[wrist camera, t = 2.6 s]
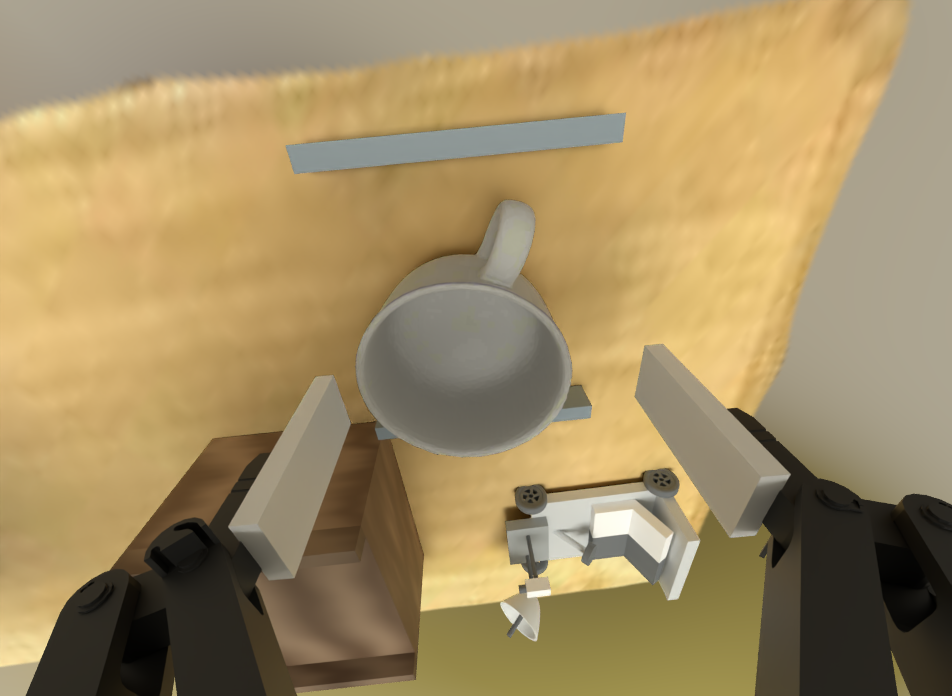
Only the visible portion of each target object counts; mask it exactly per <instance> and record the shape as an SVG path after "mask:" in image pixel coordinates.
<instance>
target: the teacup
mask: <svg viewBox="0 0 952 696" xmlns="http://www.w3.org/2000/svg"><path fill="white" fill-rule="evenodd" d="M534 232H535V215H534V211H533V210H532V208H531V207H530V206H529V205H527V204H525V203H523V202H520V201H515V200H504V201H502V202H501V203H500V204H499V205H498V206H497V208H496V210H495V212H494V214H493V216H492V219H491V221H490V223H489V226H488V229H487V231H486V234H485V236H484V239H483V242H482V244H481V246H480V248H479V250H478V252H477V254H475V255H470V254H457V255H450V256H444V257H440V258H437V259H434V260H432V261H429V262H427V263H425V264H423V265H421V266H419V267H418V268H416V269H415V270H413V271H412V272H411V273H409V274H408V275H407V276H406V277H405V278H404V279H403V280H402V281H401V282H400V283H399V284H398V285H397V286H396V287H395V289H394V290H393V292H392V293H391V294H390V296H389V297H388V299H387V300H386V302H385V303H384V305H383V306H382V308H381V309H380V311H379V313H378V314H377V315H376V316H375V317H374V318H373V320H372V321H371V323H370V325H369V326H368V327H367V329H366V331H365V333H364V335H363V337H362V339H361V342H360V345H359V347H358V351H357V355H356V377H357V383H358V387H359V390H360V393H361V395H362V398H363V400H364V402H365V404H366V406H367V407H368V409H369V411H370V412H371V413H372V415H373V416H374V417H375V418H376V419H377V420H378V421H379V422H380V424H381V425H382V426H384V427H385V428H386V429H387V430H388V431H390V432H391V433H393V434H394V435H395V436H397V437H398V438H400V439H402V440H404V441H406V442H407V443H409V444H411V445H413V446H415V447H418V448H421V449H424V450H426V451H428V452H431V453H434V454H437V455H439V454H442V455H448V456H458V457H481V456H486V455H491V454H496V453H500V452H504V451H507V450H509V449H512V448H515V447H517V446H519V445H521V444H523V443H525V442H527V441H529V440H530V439H532V438H533V437H535V436H536V435H538V434H539V433H540V432H541V431H542V430H544V429H545V428H546V427H547V426H548V425H549V424H550V423H551V422H552V421H553V420H554V418H555V417H556V416H557V415H558V413H559V412H560V410H561V409H562V407H563V405H564V402H565V401H566V399H567V394H568V392H569V387H570V385H571V378H572V362H571V358H570V354H569V350H568V346H567V344H566V341H565V339H564V337H563V335H562V333H561V331H560V330H559V328H558V327H557V325H556V324H555V322H554V321H553V319H552V317H551V314H550V312H549V310H548V308H547V306H546V305H545V303H544V301H543V299H542V298H541V296H540V295H539V293H538V292H537V290H536V289H535V288H534V286H533V285H532V284H531V283H530V282H529V281H528V280H527V279H526V278H525V277H524V276H523V275H522V274H520V271H521V270H522V268H523V266H524V263H525V261H526V259H527V256H528V253H529V250H530V248H531V244H532V240H533V236H534Z"/></svg>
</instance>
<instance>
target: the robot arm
mask: <svg viewBox="0 0 952 696" xmlns="http://www.w3.org/2000/svg"><path fill="white" fill-rule="evenodd" d="M635 398H636V399H637V401H638V402H639V404H640V405H641V407H642V408H643V410H644V411H645V413H646V414H647V416H648V417H649V419H650V420H651V422H652V423H653V425H654V426H655V428H656V429H657V431H658V432H659V433H660V435H661V436H662V438H663V439H664V441H665V442H666V444H667V445H668V447H669V448H670V450H671V451H672V453H673V454H674V456H675V457H676V459H677V460H678V462H679V463H680V465H681V466H682V467H683V469H684V470H685V472H686V473H687V475H688V476H689V478H690V479H691V481H692V482H693V484H694V485H695V487H696V488H697V490H698V491H699V493H700V494H701V496H702V497H703V499H704V500H705V501H706V503H707V504H708V506H709V507H710V509H711V510H712V512H713V513H714V515H715V516H716V518H717V519H718V521H719V522H720V524H721V525H722V527H723V528H724V530H725V531H726V533H727V534H728V536H729V537H730V538H732V537H743V536H754V535H756V534H757V532H758V530H759V528H760V527H761V525H762V523H763V524H764V525H765V527H766V528H767V529H768V530H769V532H770V533H771V534H772V535H771V536H770V538H769V540H768V541H767V543H766V545H765V546H764V548H763V549H762V551H761V553H760V555H759V556H760V557H762V558H764V557H765V555H766V554H767V560H766V571H765V583H764V595H763V606H762V607H763V608H762V618H761V629H760V641H759V652H758V664H757V676H756V687H755V696H898V693H897V687H896V681H895V674H894V667H893V661H892V654H891V651H892V653H893V655H894V658H895V660H896V662H897V665H898V667H899V669H900V672H901V674H902V676H903V679H904V681H905V683H906V686H907V688H908V690H909V693H910V695H911V696H952V505H951V504H949V503H946V502H945V501H942V500H940V499H937V498H934V497H930V496H927V495H920V494H911V495H906V496H905V497H904V498H903V499H902V500H901V501H900V502H899V504H898V505H893V504H887V503H881V502H875V501H870V500H864V499H861V498H860V497H859V496H858V495H856V494H855V493H853V492H852V491H850V490H849V489H847V488H846V487H844V486H842V485H839V484H837V483H835V482H832V481H828V480H824V479H818V478H817V477H815V476H814V475H813V474H812V473H811V472H810V471H809V470H808V469H807V468H806V467H805V466H804V465H803V464H802V463H801V462H800V461H799V460H798V459H797V458H796V457H795V456H793V455H792V454H791V453H790V452H789V451H788V450H787V449H786V448H785V447H784V446H783V445H782V444H781V443H780V442H779V441H776V438H775V437H774V436H773V435H772V434H770V433H769V432H768V431H766V429H765V428H764V427H763V426H762V425H761V424H760V423H759V422H758V421H757V420H756V419H755V418H754V417H752V416H750V415H749V414H747V413H745V412H743V411H742V410H740V409H738V408H730V409H726V408H725V407H724V406H723V405H722V404H721V403H720V402H719V401H718V400H717V399H716V398H715V397H714V396H713V394H712V393H711V392H710V391H709V390H708V389H707V388H706V387H705V386H704V385H703V384H702V383H701V382H700V381H699V380H698V379H697V378H696V377H695V376H694V375H693V374H692V373H691V372H690V371H689V370H688V369H687V368H686V367H685V366H684V365H683V364H682V363H681V362H680V361H679V360H678V359H677V358H676V357H675V356H674V355H673V354H672V353H671V352H670V351H669V350H668V349H667V348H666V347H665V346H664V345H663V344H656V345H645V346H644V351H643V357H642V362H641V367H640V372H639V377H638V382H637V387H636V392H635ZM350 425H351V422H350V419H349V417H348V414H347V411H346V408H345V405H344V403H343V400H342V397H341V394H340V392H339V389H338V386H337V383H336V380H335V378H334V375H327V376H317V377H315V378H314V380H313V382H312V383H311V385H310V387H309V388H308V390H307V392H306V394H305V395H304V397H303V399H302V401H301V402H300V404H299V406H298V407H297V409H296V411H295V413H294V414H293V416H292V418H291V419H290V421H289V423H288V425H287V426H286V428H285V430H284V431H283V433H282V435H281V437H280V438H279V440H278V442H277V443H276V445H275V447H274V449H273V450H272V452H270V453H260V454H259V455H258V456H257V457H255V458H254V459H253V460H252V461H251V462H250V463H249V464H248V465H247V466H246V467H245V469H244V471H243V472H242V474H241V475H240V477H239V478H238V482H236V483H235V485H234V486H233V488H232V489H231V493H229V494H228V496H227V497H226V499H225V501H224V502H223V504H222V505H221V507H220V508H219V510H218V512H217V513H216V515H215V516H214V518H213V519H212V521H211V523H210V524H209V526H208V525H207V524H206V523H205V522H204V520H203V519H200V518H196V517H194V518H188V519H184V520H182V521H179V522H177V523H175V524H173V525H171V526H170V527H169V528H167V529H166V530H164V531H163V532H161V533H160V534H159V535H158V536H157V537H156V538H155V539H154V540H153V541H152V543H151V544H150V546H149V547H148V549H147V550H146V552H145V556H144V562H145V563H146V564H147V565H148V566H149V567H151V568H152V570H150V571H147V572H144V573H142V574H139V575H136V576H134V577H132V576H131V575H130V574H129V573H128V572H127V571H125V570H124V569H114V570H110V571H107V572H104V573H102V574H100V575H99V576H97V577H95V578H93V579H91V580H90V581H89V582H87V583H86V584H85V585H83V586H82V587H81V588H80V589H78V590H77V591H76V592H75V594H74V595H73V596H72V597H71V598H70V599H69V600H68V601H67V603H66V604H65V606H64V607H63V609H62V611H61V612H60V615H59V617H58V619H57V622H56V624H55V627H54V629H53V631H52V634H51V636H50V639H49V641H48V643H47V646H46V648H45V651H44V653H43V655H42V658H41V660H40V663H39V665H38V667H37V670H36V672H35V675H34V677H33V680H32V682H31V684H30V687H29V689H28V691H27V694H26V696H172V690H173V684H174V677H175V682H176V690H177V696H297V694H296V691H295V688H294V686H293V683H292V680H291V677H290V674H289V672H288V669H287V666H286V663H285V660H284V658H283V655H282V652H281V649H280V646H279V643H278V641H277V638H276V635H275V632H274V629H273V627H272V624H271V621H270V618H269V615H268V613H267V610H266V607H265V604H264V601H263V598H262V596H261V593H260V590H259V588H258V587H257V586H256V582H257V579H258V577H259V575H260V573H261V570H262V572H263V573H264V574H265V576H266V577H267V578H268V580H279V579H290V578H295V575H296V572H297V570H298V567H299V564H300V562H301V559H302V556H303V553H304V551H305V548H306V545H307V542H308V540H309V537H310V534H311V531H312V529H313V526H314V523H315V520H316V518H317V515H318V512H319V509H320V507H321V504H322V501H323V499H324V496H325V493H326V490H327V488H328V485H329V482H330V479H331V477H332V474H333V471H334V468H335V466H336V463H337V460H338V457H339V455H340V452H341V449H342V446H343V444H344V441H345V438H346V436H347V433H348V430H349V427H350Z"/></svg>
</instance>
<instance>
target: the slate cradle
mask: <svg viewBox="0 0 952 696" xmlns="http://www.w3.org/2000/svg"><path fill="white" fill-rule="evenodd" d="M625 116H626V113H618V114H608V115H598V116H587V117H577V118H566V119H556V120H545V121H535V122H525V123H514V124H504V125H493V126H483V127H473V128H462V129H452V130H441V131H431V132H420V133H410V134H400V135H389V136H379V137H368V138H358V139H347V140H337V141H327V142H316V143H306V144H295V145H286V149H287V152H288V155H289V158H290V161H291V164H292V168H293V171H294V174H299V173H310V172H320V171H330V170H341V169H351V168H361V167H372V166H382V165H392V164H403V163H413V162H423V161H434V160H444V159H454V158H465V157H475V156H485V155H496V154H506V153H516V152H527V151H537V150H547V149H558V148H568V147H578V146H589V145H599V144H609V143H620V142H623V134H624V125H625ZM591 409H592V405H591V403H590V401H589V399H588V397H587V396H586V394H585V392H584V390H583V388H582V386H581V385H579V386H570V387H569V392H568V394H567V399H566V401H565V402H564V405H563V407H562V409H561V410H560V412H559V413H558V415H557V416H556V417H555V418H554V420H553V421H552V422H557V421H567V420H577V419H586V418H591ZM375 431H376V434H377V437H378V440H385V439H394V438H398V437H397V436H395V435H394V434H393V433H391V432H390V431H388V430H387V429H386V428H385V427H384V426H382V425H381V424H380V422H379V421H378V420H377V422H376V425H375Z"/></svg>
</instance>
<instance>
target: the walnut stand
mask: <svg viewBox="0 0 952 696" xmlns="http://www.w3.org/2000/svg"><path fill="white" fill-rule="evenodd" d="M375 425H376V422H370V423H361V424H351V425H350V427H349V430H348V433H347V436H346V438H345V441H344V444H343V446H342V449H341V452H340V455H339V457H338V460H337V463H336V466H335V468H334V471H333V474H332V477H331V479H330V482H329V485H328V488H327V490H326V493H325V496H324V499H323V501H322V504H321V507H320V509H319V512H318V515H317V518H316V520H315V523H314V526H313V529H312V531H311V534H310V537H309V540H308V542H307V545H306V548H305V551H304V553H303V556H302V559H301V562H300V564H299V567H298V570H297V572H296V575H295V578H290V579H279V580H268V578H267V577H266V576H265V574H264V573H263V572H262V570H261V573H260V575H259V577H258V579H257V582H256V586H257V587H258V588H259V590H260V593H261V596H262V598H263V601H264V604H265V607H266V610H267V613H268V615H269V618H270V621H271V624H272V627H273V629H274V632H275V635H276V638H277V641H278V643H279V646H280V649H281V652H282V655H283V658H284V660H285V663H286V666H287V669H288V672H289V674H290V677H291V680H292V683H293V686H294V688H295V691H296V693H302V692H310V691H319V690H329V689H337V688H347V687H355V686H365V685H374V684H383V683H392V682H400V681H410V680H416V669H417V653H418V638H419V622H420V607H421V591H422V576H423V560H424V554H423V550H422V547H421V543H420V540H419V537H418V533H417V530H416V526H415V523H414V519H413V516H412V512H411V509H410V506H409V502H408V499H407V495H406V492H405V488H404V485H403V481H402V478H401V475H400V471H399V468H398V464H397V461H396V457H395V454H394V450H393V447H392V444H391V440H390V439H385V440H378V437H377V434H376V431H375ZM282 433H283V432H274V433H264V434H255V435H245V436H235V437H226V438H216V439H212V440H211V442H210V443H209V444H208V446H207V447H206V448H205V449H204V451H203V452H202V453H201V455H200V456H199V457H198V458H197V460H196V461H195V462H194V463H193V465H192V466H191V467H190V469H189V470H188V471H187V472H186V474H185V475H184V476H183V477H182V479H181V480H180V481H179V483H178V484H177V485H176V486H175V488H174V489H173V490H172V492H171V493H170V494H169V495H168V497H167V498H166V499H165V500H164V502H163V503H162V504H161V506H160V507H159V508H158V509H157V511H156V512H155V513H154V515H153V516H152V517H151V518H150V520H149V521H148V522H147V523H146V525H145V526H144V527H143V529H142V530H141V531H140V532H139V534H138V535H137V536H136V538H135V539H134V540H133V541H132V543H131V544H130V545H129V546H128V548H127V549H126V550H125V552H124V553H123V554H122V555H121V557H120V558H119V559H118V561H117V562H116V563H115V564H114V566H113V567H112V568H111V569H110V570H114V569H124V570H125V571H127V572H128V573H129V574H130V575H131V576H132V577H134V576H136V575H139V574H142V573H144V572H147V571H150V570H152V568H151V567H149V566H148V565H147V564H146V563H145V562H144V556H145V552H146V550H147V549H148V547H149V546H150V544H151V543H152V541H153V540H154V539H155V538H156V537H157V536H158V535H159V534H160V533H161V532H163V531H164V530H166V529H167V528H169V527H170V526H171V525H173V524H175V523H177V522H179V521H182V520H184V519H188V518H194V517H196V518H200V519H203V520H204V522H205V523H206V524H207V525H208V526H209V524H210V523H211V521H212V519H213V518H214V516H215V515H216V513H217V512H218V510H219V508H220V507H221V505H222V504H223V502H224V501H225V499H226V497H227V496H228V494H229V493H231V489H232V488H233V486H234V485H235V483H236V482H238V478H239V477H240V475H241V474H242V472H243V471H244V469H245V467H246V466H247V465H248V464H249V463H250V462H251V461H252V460H253V459H254V458H255V457H257V456H258V455H259V454H260V453H270V452H272V450H273V449H274V447H275V445H276V443H277V442H278V440H279V438H280V437H281V435H282Z"/></svg>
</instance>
